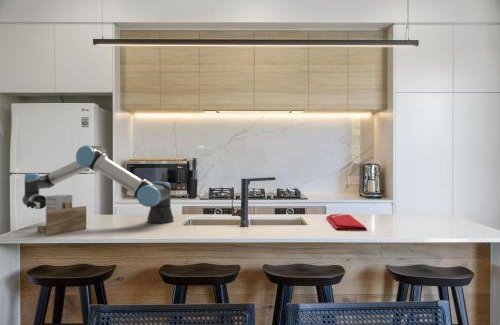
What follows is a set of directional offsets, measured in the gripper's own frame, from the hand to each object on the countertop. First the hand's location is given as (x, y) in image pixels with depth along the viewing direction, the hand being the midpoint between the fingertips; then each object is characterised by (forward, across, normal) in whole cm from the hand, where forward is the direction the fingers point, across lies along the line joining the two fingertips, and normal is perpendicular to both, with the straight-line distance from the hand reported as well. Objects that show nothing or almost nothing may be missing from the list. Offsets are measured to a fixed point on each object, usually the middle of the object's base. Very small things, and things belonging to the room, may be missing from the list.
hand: (52, 204), depth 225 cm
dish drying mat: (+103, -119, -13) cm, 157 cm away
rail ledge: (+11, +1, -13) cm, 17 cm away
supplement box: (+8, 0, -12) cm, 14 cm away
